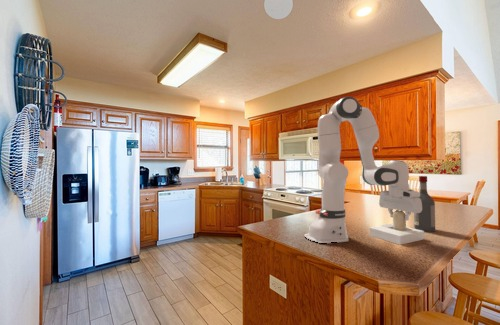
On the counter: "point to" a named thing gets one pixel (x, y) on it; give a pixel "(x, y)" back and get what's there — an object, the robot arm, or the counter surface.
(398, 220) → the candle
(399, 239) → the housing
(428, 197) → the liquor
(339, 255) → the counter surface
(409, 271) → the counter surface
